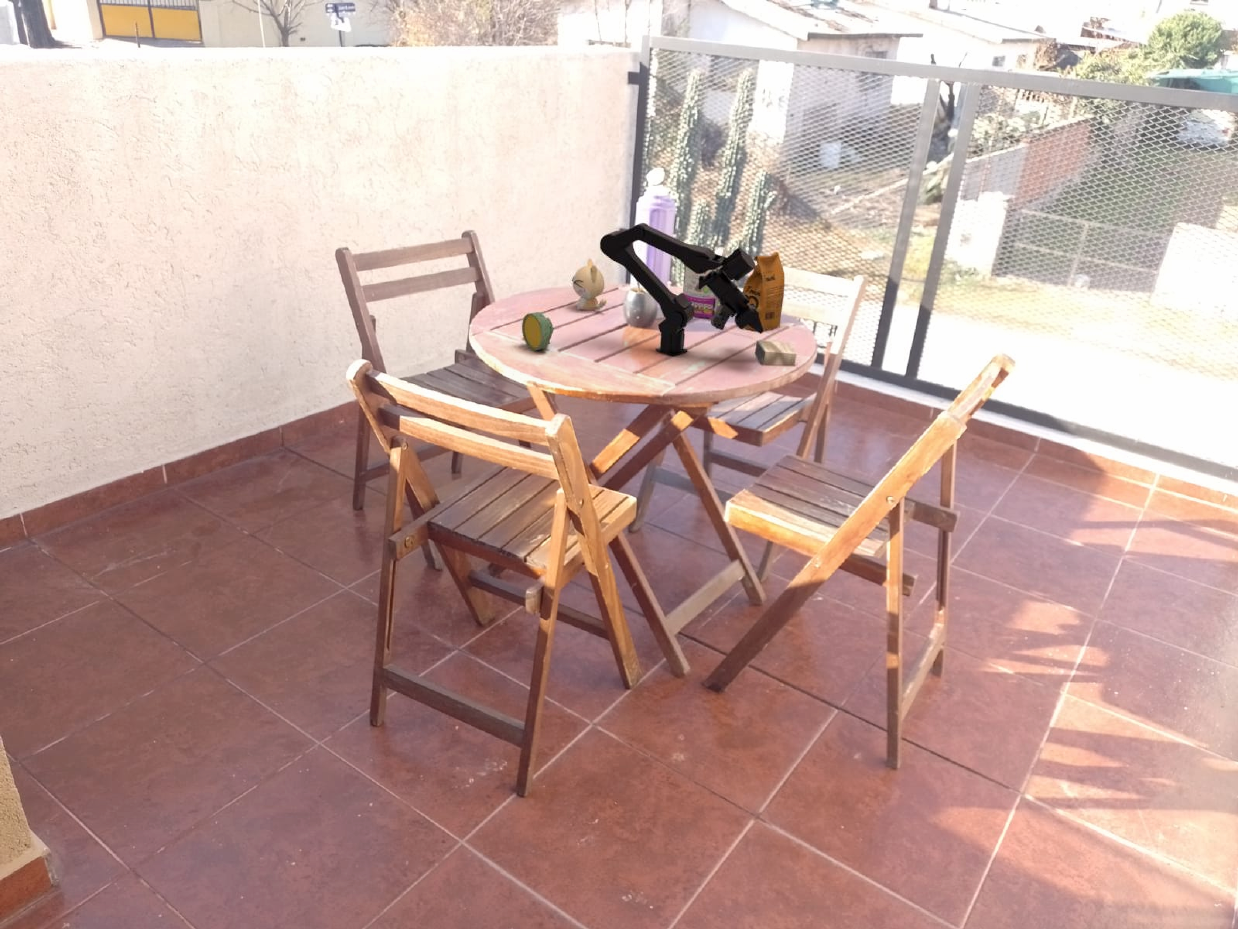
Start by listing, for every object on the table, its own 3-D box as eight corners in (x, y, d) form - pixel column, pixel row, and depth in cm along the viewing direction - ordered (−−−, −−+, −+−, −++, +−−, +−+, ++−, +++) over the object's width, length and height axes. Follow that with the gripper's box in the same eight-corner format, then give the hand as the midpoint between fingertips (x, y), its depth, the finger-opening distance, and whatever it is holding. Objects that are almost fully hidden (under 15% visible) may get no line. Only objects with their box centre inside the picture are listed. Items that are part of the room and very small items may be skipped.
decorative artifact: (521, 345, 248) (521, 309, 243) (543, 341, 252) (543, 306, 247) (542, 354, 241) (542, 318, 236) (563, 350, 245) (564, 314, 240)
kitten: (568, 302, 290) (569, 256, 284) (599, 302, 292) (600, 256, 286) (575, 315, 277) (575, 266, 271) (607, 315, 279) (608, 266, 272)
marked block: (763, 351, 239) (796, 353, 239) (756, 340, 248) (789, 342, 248) (760, 365, 240) (794, 368, 241) (754, 354, 249) (786, 356, 250)
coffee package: (733, 326, 273) (740, 253, 264) (759, 319, 281) (766, 248, 272) (759, 333, 266) (767, 259, 257) (784, 326, 274) (793, 254, 265)
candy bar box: (719, 317, 282) (724, 264, 275) (713, 320, 278) (718, 267, 271) (687, 311, 286) (690, 259, 279) (680, 314, 282) (684, 262, 275)
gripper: (698, 301, 247) (734, 341, 252) (705, 320, 230) (743, 362, 235) (729, 274, 244) (765, 315, 249) (739, 290, 227) (777, 334, 232)
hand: (762, 332), depth 241 cm, fingers closed
